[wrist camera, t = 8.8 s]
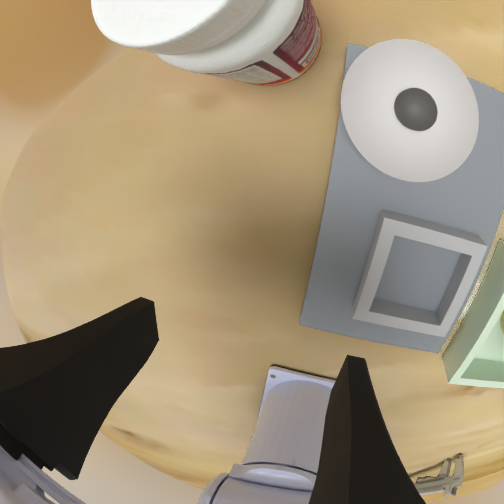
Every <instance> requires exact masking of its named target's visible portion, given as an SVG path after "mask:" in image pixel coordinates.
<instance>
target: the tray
mask: <svg viewBox="0 0 504 504" xmlns="http://www.w3.org/2000/svg"><path fill="white" fill-rule="evenodd" d="M503 310H504V240H501V239H500V240H499V243H498V245H497V248H496V251H495V253H494V256H493V258H492V261H491V263H490V265H489V268H488V270H487V272H486V275H485V277H484V279H483V281H482V284H481V286H480V288H479V290H478V292H477V294H476V296H475V298H474V300H473V302H472V304H471V306H470V308H469V310H468V312H467V314H466V316H465V318H464V320H463V322H462V323H461V325H460V327H459V329H458V331H457V332H456V334H455V336H454V338H453V339H452V341H451V343H450V344H449V346H448V348H447V349H446V351H445V353H444V354H443V360H444V365H445V370H446V374H447V379H448V383H450V384H459V385H469V386H480V387H493V388H504V334H503V332H502V330H501V327H500V318H501V315H502V312H503Z"/></svg>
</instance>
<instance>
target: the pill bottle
mask: <svg viewBox="0 0 504 504" xmlns="http://www.w3.org/2000/svg"><path fill="white" fill-rule="evenodd" d="M91 3H92V4H91V5H92V12H93V16H94V19H95V22H96V24H97V26H98V28H99V29H100V30H101V32H102V33H103V34H104V35H105V36H106V37H107V38H109V39H110V40H112V41H114V42H116V43H118V44H120V45H123V46H126V47H131V48H136V49H141V50H146V51H149V52H152V53H155V54H156V55H157V56H158V57H159V58H161V59H162V60H164V61H165V62H167V63H169V64H171V65H173V66H175V67H177V68H181V69H184V70H187V71H191V72H194V73H199V74H207V75H213V76H218V77H223V78H228V79H233V80H237V81H242V82H246V83H250V84H256V85H277V84H282V83H285V82H288V81H291V80H293V79H295V78H296V77H298V76H300V75H301V74H302V73H304V72H305V71H306V70H307V69H308V68H309V67H310V66H311V65H312V63H313V62H314V61H315V59H316V57H317V55H318V52H319V49H320V45H321V30H320V26H319V22H318V19H317V17H316V14H315V11H314V8H313V6H312V4H311V1H310V0H91Z"/></svg>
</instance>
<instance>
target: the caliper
mask: <svg viewBox="0 0 504 504" xmlns="http://www.w3.org/2000/svg"><path fill="white" fill-rule="evenodd" d="M450 467H451V459H450V458H447V459H445V461H444V464H443V466H442V468H441V470H440V472H439V474H438V476H437V477H431V476H426V477H423V478H422V477H418V478H417V481H416V483H413V484H414V485H415V487H416V489H417V490H418V492H419V494H420V495H424V494H431V493H438V492H443V491H445V492H444V497H446V498H447V497H448V496H449V494H450V493H451V495H453V496H455V495H456V490H457V488H460V487H461V485H462V481H463V476H464V461H463V456H462V455H460V454H457V459H456V464H455V469H454V473H453V476H449V472H450ZM448 476H449V477H448Z"/></svg>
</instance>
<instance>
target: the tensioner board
mask: <svg viewBox="0 0 504 504" xmlns="http://www.w3.org/2000/svg"><path fill="white" fill-rule="evenodd" d="M503 209H504V93H502V92H500V91H498V90H496V89H494V88H492V87H489V86H487V85H485V84H483V83H480V82H478V81H476V80H473V79H471V78H469V77H466V76H465V74H464V73H463V72H462V70H461V69H460V68H459V67H458V66H457V64H456V63H455V62H454V61H453V60H451V59H450V58H449V57H448V56H447V55H445V54H444V53H443V52H441V51H440V50H438V49H436V48H434V47H432V46H430V45H428V44H425V43H423V42H419V41H415V40H409V39H392V40H387V41H383V42H380V43H377V44H375V45H373V46H371V47H365V46H360V45H355V44H349V43H347V53H346V63H345V72H344V81H343V86H342V91H341V105H340V113H339V120H338V127H337V134H336V141H335V147H334V153H333V160H332V166H331V172H330V178H329V183H328V189H327V195H326V200H325V206H324V211H323V216H322V221H321V226H320V231H319V236H318V241H317V246H316V251H315V256H314V260H313V265H312V269H311V274H310V278H309V283H308V287H307V292H306V296H305V300H304V304H303V309H302V313H301V317H300V321H299V325H301V326H306V327H310V328H314V329H318V330H323V331H327V332H331V333H336V334H340V335H345V336H350V337H354V338H359V339H364V340H369V341H374V342H379V343H384V344H389V345H394V346H399V347H405V348H410V349H416V350H421V351H427V352H433V353H439V351H440V350H441V348H442V346H443V345H444V343H445V341H446V340H447V338H448V336H449V334H450V333H451V331H452V329H453V327H454V325H455V324H456V322H457V320H458V318H459V316H460V314H461V312H462V310H463V308H464V306H465V304H466V302H467V300H468V298H469V296H470V294H471V292H472V290H473V288H474V286H475V283H476V281H477V279H478V277H479V274H480V272H481V270H482V267H483V265H484V263H485V260H486V258H487V255H488V253H489V250H490V247H491V245H492V242H493V239H494V237H495V234H496V231H497V228H498V225H499V222H500V219H501V216H502V213H503Z"/></svg>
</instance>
